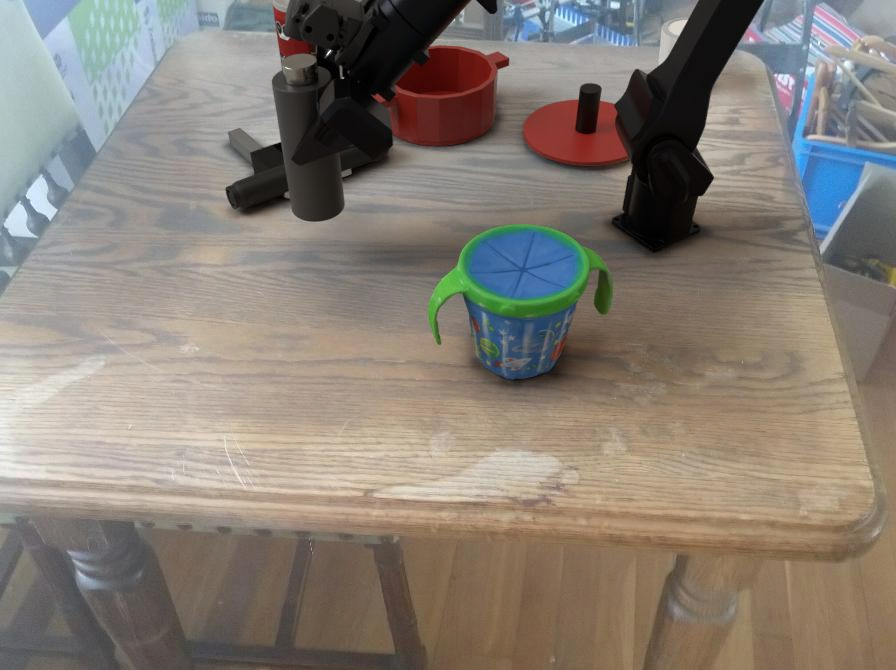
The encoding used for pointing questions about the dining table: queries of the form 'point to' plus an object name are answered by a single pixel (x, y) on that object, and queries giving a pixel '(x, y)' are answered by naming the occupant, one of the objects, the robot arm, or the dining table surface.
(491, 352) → the snack cup
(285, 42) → the red can
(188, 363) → the dining table surface
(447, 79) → the pot
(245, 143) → the door handle
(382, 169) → the dining table surface
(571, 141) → the lid
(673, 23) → the off-white short cylinder
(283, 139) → the pepper mill
